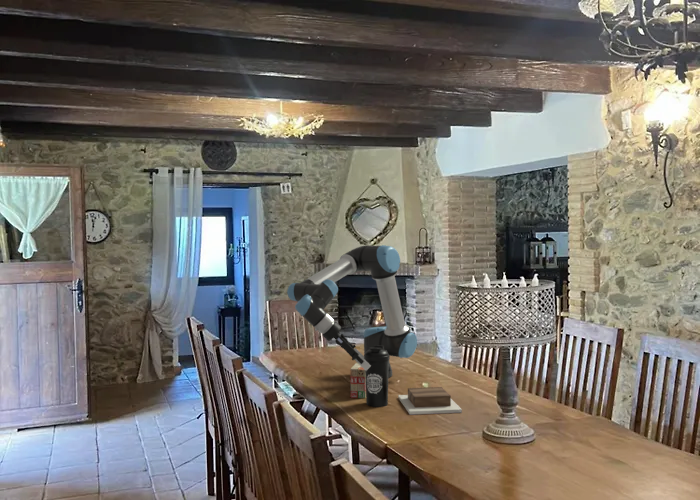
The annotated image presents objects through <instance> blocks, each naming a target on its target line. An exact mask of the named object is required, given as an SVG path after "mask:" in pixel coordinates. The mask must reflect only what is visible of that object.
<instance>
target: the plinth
mask: <svg viewBox="0 0 700 500" xmlns="http://www.w3.org/2000/svg"><path fill="white" fill-rule="evenodd" d="M407 395H408V399H409V400H410V402H411V403H412V404H413V406H414V407H441V406H451V399H452V398H451V394H449V392H447V391H446V390H445V388H444V387H442V386H432V387H431V386H430V387H409V388H407Z"/></svg>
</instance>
